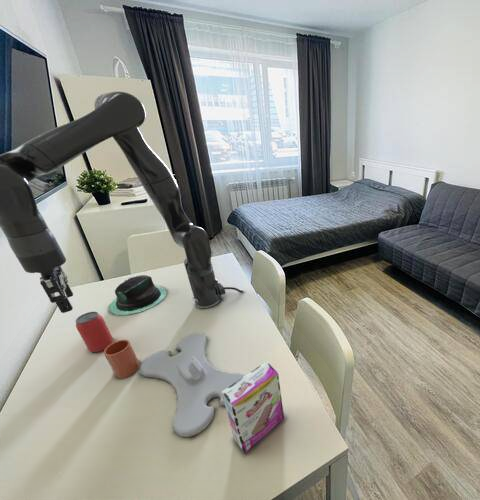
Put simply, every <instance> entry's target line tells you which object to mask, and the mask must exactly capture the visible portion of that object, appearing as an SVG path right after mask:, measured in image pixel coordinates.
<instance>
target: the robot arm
mask: <svg viewBox="0 0 480 500" xmlns="http://www.w3.org/2000/svg"><path fill="white" fill-rule="evenodd" d="M146 117H147V113H146V108H145V106H144V104H143V103H142V102H141V101H140V99H138V98H137V97H136V96H135V95H134V94H132V93H129V92H125V91H110V92H106V93H102V94H99V95H98V96H97V97H96V98H95V100H94V110H92V111H91V112H89V113H87V114H85V115H83V116H81V117H79V118H77V119H74V120H72V121H70V122H68V123H65V124H62V125H60V126H57V127H54V128H52V129H49V130H48V131H46V132H42V133H40V134H39V135H37V136H35V137H33V138H31V139H29V140H27V141H26V142H25V141H24V143H22V144H20V145H19V146H18V147H15V148H14V149H12V150H10V151H9V150H8V151H6V152H4V153H1V154H0V229H1V231H2V233H3V234H4V236H5V238H6V240H7V243H8V245H9V248H10V249H11V251H12V252H13V254H14V255H15V258H16V259H17V260H18V262H19V264H20V266H21V267H22V269H23V270H24V272H25V273H28V274H40V276H39V282H40V283H39V284H40V286H41V287H42V288H43V290H44V292H45V293H46V295H47V297H48V300H49V302H50V303H52V304H54V303H55V305H56V306H57V308H58V309H59V311H60V313H62V314H66V313H68V312H71V311H73V305H72V303H71V301H70V300H69V298H71V297H73V296H74V292H73V291H72V289H71V287H70V285H69V280H68V276H67V275H66V273H65V271H64V269H63V267H62V266H63V265H64V264H65V263H66V262H67V258H66V256H65V254H64V252H63V250H62V248H61V246H60V244H59V242H58V241H57V239H56V237H55V235H54V234H53V232H52V231H51V230H50V228H49V226H48V225H47V222H46V220H45V219H44V217H43V215H42V214H41V212H40V210H39V208H38V204H37V201H36V199H35V196H34V192H33V189H32V188H31V185H30V182H31V181H33V180H34V179H36V178H38V177H40V176H45V175H49V174H51V173H53V172H55V171H57V170H59V169H61V168H63V167H64V166H65V165H68V163H70V162H73V160H75V159H77V158H78V157H80V156H82V155H83V154H84V153H86V152H87V151H89V150H91V149H93V148H94V147H95V146H98V145H99V144H101V143H103V142H104V141H107V140H109V139H111V138H113V140H114V141H115V143H116V144H117V146H118V147H119V148H120V150H121V151H122V153H123V154H124V156H125V158H126V160H127V161H128V163H129V165H130V167H131V169H132V171H133V172H134V174H135V176H136V177H137V179H138V180H139V183H140V184H141V186H142V188H143V189H144V191H145V192H146V194H147V195H148V197H149V199H150V200H151V202H152V204H153V205H154V206H155V208H156V210H157V211H158V213H159V214H160V216H161V217H162V218H163V220H164V222H165V225H166V227H167V229H168V231H169V233H170V236H171V238H172V240H173V242H174V243H175V244H176V245H177V246H178V247H180V248H182V249H183V250H184V252H185V256H186V258H185V259H184V261H183V265H184V268H185V272H186V275H187V279H188V282H189V285H190V289H191V292H192V299H193V300H194V303H195V306H196V307H197V308H199V309H209V308H212V307H215V306H216V305H218V304H219V303H220V302H221V301H223V298H222V297H223V295H226V294H227V292H226V290H233V291H237V292H238V293H242V294H243V293H244V290H241V289H239V288H237V287H234V286H223V285H222V284H221V283H220V282H219V281H218V280H217V278H216V275H215V271H214V268H213V263H212V249H211V243H210V239H209V236H208V233H207V231H206V230H205V229H204V228H202V227H200V226H197V225H196V224H195V225H194V224H193V223H192V222H191V220H190V218H189V217H188V216H187V214H186V212H185V210H184V207H183V204H182V196H181V195H182V194H181V191H180V188H179V185H178V183H177V181H176V179H175V177H174V175H173V173H172V172H171V170H170V168H169V167H168V166H167V165H166V163H165V162H164V161H163V160H162V158H160V157H159V156H158V155H157V153H155V152H154V150H153V149H152V147H150V146H149V144H148V143H147V142H146V139H144V137H143V135H142V133H141V130H140V129H139V128H140V127H141V126H142V125H143V124H144V123H145V120H146ZM56 293H58V294H59V295H56Z"/></svg>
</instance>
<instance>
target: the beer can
mask: <svg viewBox="0 0 480 500" xmlns="http://www.w3.org/2000/svg"><path fill="white" fill-rule="evenodd" d="M75 328H76V330H77V332H78V334H79V335H80V338H81V339H82V340H83V342H84V344H85V346H86V348H87V350H88V351H89V352H90V353H91V352H92V353H98V352H101V351H104V350H105V348H107V347H108V346H109V345H110V344H112V343H114V338H113V335H112V334H111V332H110V329H109V327H108V325H107V324H106V321H105V320H104V318H103V316H102V315H101V314H100V313H99V312H98V311H89V312H86V313H83V314H81V315H79V316H78V317H77V318H76V319H75Z"/></svg>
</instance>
